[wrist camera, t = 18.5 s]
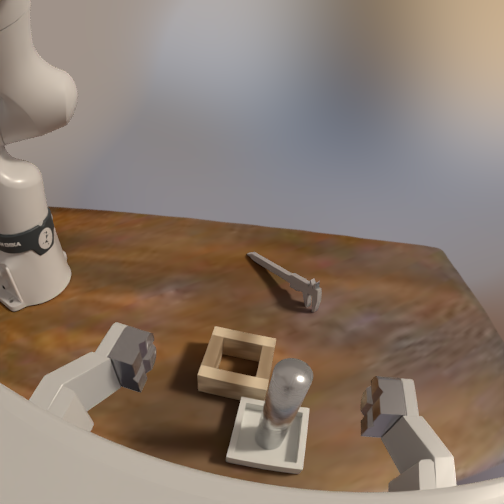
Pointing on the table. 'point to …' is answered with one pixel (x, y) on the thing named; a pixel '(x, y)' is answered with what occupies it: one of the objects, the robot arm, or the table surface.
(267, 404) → the grey rounded cylinder
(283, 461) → the tray
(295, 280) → the caliper
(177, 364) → the table surface
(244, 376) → the bore block
